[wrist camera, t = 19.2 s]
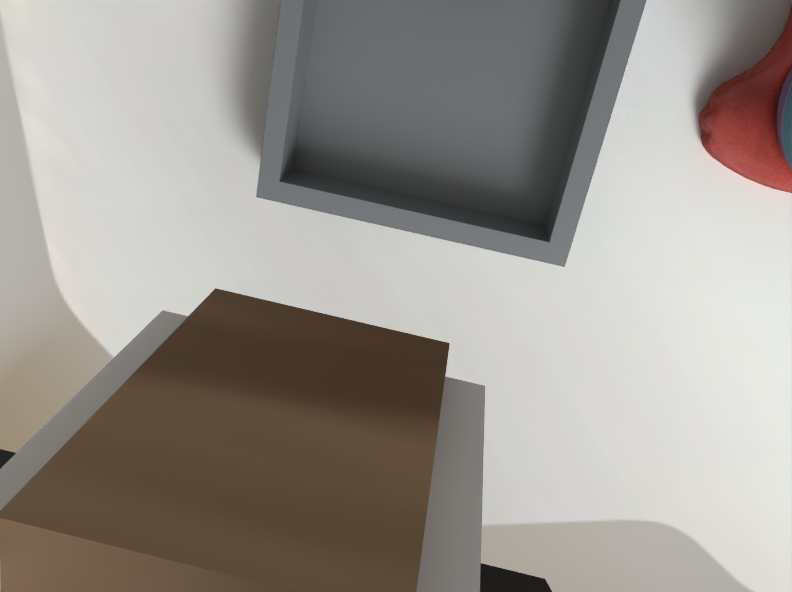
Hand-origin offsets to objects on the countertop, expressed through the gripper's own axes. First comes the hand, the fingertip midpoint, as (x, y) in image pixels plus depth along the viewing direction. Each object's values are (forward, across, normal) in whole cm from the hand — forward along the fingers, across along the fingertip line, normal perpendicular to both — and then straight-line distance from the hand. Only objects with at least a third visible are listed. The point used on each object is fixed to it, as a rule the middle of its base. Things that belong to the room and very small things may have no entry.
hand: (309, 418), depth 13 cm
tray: (+27, 0, +7) cm, 28 cm away
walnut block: (0, 0, 0) cm, 0 cm away
